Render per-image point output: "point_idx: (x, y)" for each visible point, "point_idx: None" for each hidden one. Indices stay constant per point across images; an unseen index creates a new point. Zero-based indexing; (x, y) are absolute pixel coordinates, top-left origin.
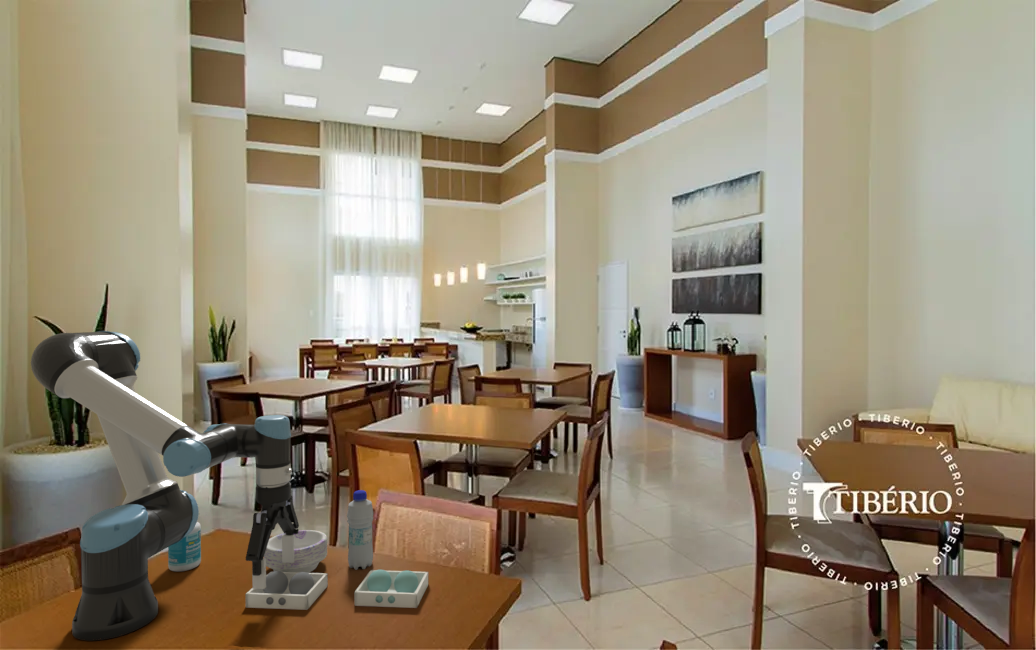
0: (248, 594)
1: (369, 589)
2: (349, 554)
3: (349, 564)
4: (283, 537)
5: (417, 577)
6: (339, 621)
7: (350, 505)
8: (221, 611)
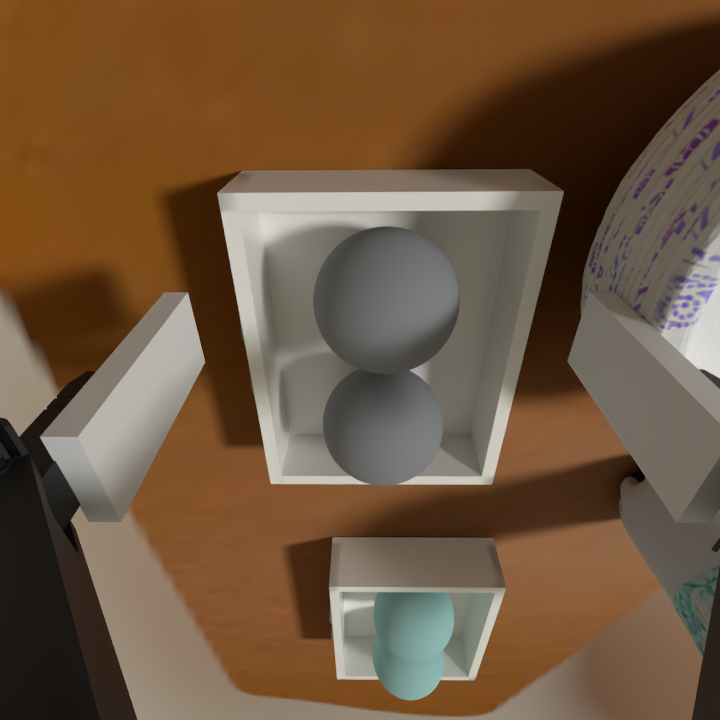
0: (221, 214)
1: None
2: None
3: None
4: (712, 436)
5: (468, 650)
6: (246, 526)
7: None
8: (183, 9)
